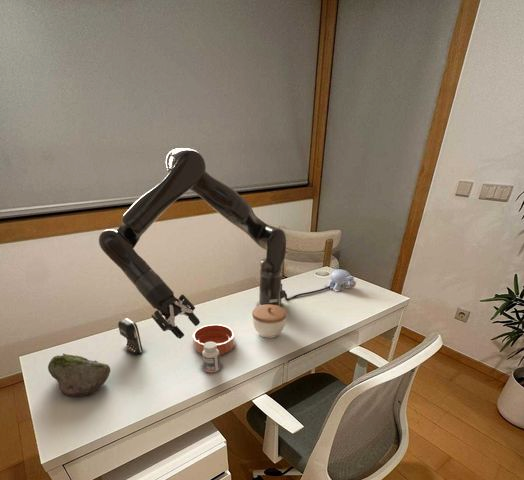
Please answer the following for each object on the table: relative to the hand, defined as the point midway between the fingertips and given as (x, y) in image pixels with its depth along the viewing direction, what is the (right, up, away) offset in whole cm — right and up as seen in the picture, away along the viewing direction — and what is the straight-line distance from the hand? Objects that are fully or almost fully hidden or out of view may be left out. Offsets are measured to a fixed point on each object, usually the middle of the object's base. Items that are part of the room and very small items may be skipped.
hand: (190, 330), depth 99 cm
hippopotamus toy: (+61, +25, +61) cm, 90 cm away
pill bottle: (+6, -12, +5) cm, 14 cm away
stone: (-32, -16, -2) cm, 35 cm away
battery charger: (-22, -6, +12) cm, 26 cm away
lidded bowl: (+25, 0, +24) cm, 34 cm away
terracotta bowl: (+5, -4, +16) cm, 17 cm away
